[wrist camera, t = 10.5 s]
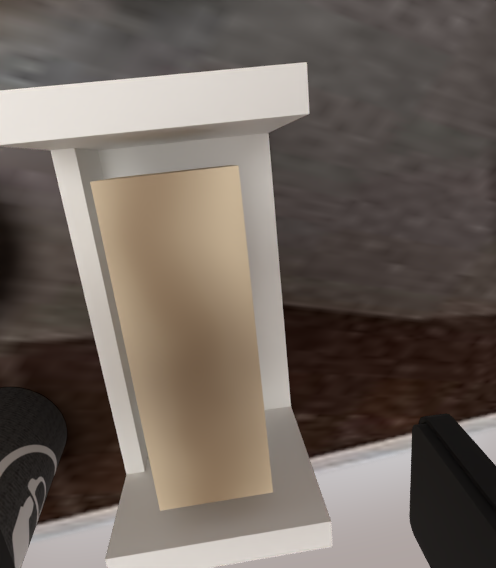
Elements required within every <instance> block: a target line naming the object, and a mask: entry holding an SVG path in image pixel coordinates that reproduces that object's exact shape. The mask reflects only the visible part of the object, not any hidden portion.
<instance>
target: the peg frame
mask: <svg viewBox="0 0 496 568" xmlns="http://www.w3.org/2000/svg"><path fill="white" fill-rule="evenodd" d="M308 114H309V96H308V77H307V62H304V63H293V64H282V65H271V66H261V67H250V68H239V69H228V70H217V71H207V72H196V73H185V74H174V75H163V76H153V77H142V78H131V79H120V80H109V81H99V82H88V83H77V84H66V85H55V86H45V87H34V88H23V89H12V90H1V91H0V147H12V148H25V149H38V150H50V151H51V155H52V159H53V163H54V168H55V172H56V176H57V180H58V185H59V189H60V193H61V197H62V202H63V206H64V210H65V215H66V219H67V223H68V227H69V232H70V236H71V240H72V244H73V249H74V253H75V257H76V261H77V266H78V270H79V274H80V278H81V283H82V287H83V291H84V295H85V300H86V304H87V308H88V312H89V317H90V321H91V325H92V329H93V334H94V338H95V342H96V346H97V351H98V355H99V359H100V364H101V368H102V372H103V376H104V381H105V385H106V389H107V393H108V398H109V402H110V406H111V410H112V415H113V419H114V423H115V427H116V432H117V436H118V440H119V444H120V449H121V453H122V457H123V461H124V466H125V470H126V474H127V475H126V479H125V483H124V487H123V490H122V494H121V498H120V502H119V506H118V510H117V514H116V518H115V522H114V526H113V530H112V534H111V538H110V542H109V546H108V550H107V554H106V557H105V561H106V565H107V568H212V567H217V566H223V565H230V564H235V563H241V562H247V561H253V560H258V559H264V558H270V557H276V556H281V555H287V554H293V553H299V552H305V551H311V550H316V549H322V548H328V547H332V529H331V520H330V517H329V514H328V511H327V508H326V505H325V503H324V500H323V497H322V494H321V491H320V488H319V485H318V482H317V479H316V477H315V474H314V471H313V468H312V465H311V462H310V459H309V457H308V454H307V451H306V448H305V445H304V442H303V439H302V436H301V434H300V431H299V428H298V425H297V422H296V419H295V416H294V414H293V411H292V408H291V401H290V389H289V377H288V365H287V352H286V340H285V328H284V316H283V304H282V291H281V279H280V267H279V255H278V243H277V230H276V218H275V206H274V194H273V182H272V169H271V157H270V145H269V132H271V131H274V130H276V129H278V128H280V127H282V126H284V125H286V124H289V123H291V122H293V121H295V120H297V119H299V118H301V117H303V116H306V115H308ZM226 165H238V166H239V175H240V185H241V194H242V204H243V213H244V222H245V232H246V241H247V251H248V260H249V270H250V279H251V288H252V298H253V307H254V317H255V326H256V336H257V345H258V354H259V364H260V373H261V383H262V392H263V402H264V411H265V420H266V430H267V439H268V449H269V458H270V468H271V477H272V486H273V492H272V493H266V494H260V495H254V496H248V497H242V498H235V499H229V500H223V501H217V502H211V503H205V504H199V505H192V506H186V507H180V508H174V509H168V510H162V511H160V508H159V503H158V499H157V494H156V489H155V485H154V480H153V475H152V471H151V466H150V461H149V457H148V452H147V447H146V442H145V438H144V433H143V428H142V424H141V419H140V414H139V410H138V405H137V400H136V395H135V391H134V386H133V381H132V377H131V372H130V367H129V363H128V358H127V353H126V349H125V344H124V339H123V334H122V330H121V325H120V320H119V316H118V311H117V306H116V302H115V297H114V292H113V288H112V283H111V278H110V273H109V269H108V264H107V259H106V255H105V250H104V245H103V241H102V236H101V231H100V226H99V222H98V217H97V212H96V208H95V203H94V198H93V194H92V189H91V184H90V182H92V181H98V180H104V179H110V178H116V177H125V176H134V175H143V174H153V173H162V172H171V171H180V170H189V169H198V168H207V167H217V166H226Z"/></svg>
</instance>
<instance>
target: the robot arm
mask: <svg viewBox="0 0 496 568" xmlns="http://www.w3.org/2000/svg"><path fill="white" fill-rule="evenodd" d="M410 524H411V528H412V531H413V533H414V536H415V538H416V540H417V542H418V544H419V546H420V548H421V550H422V551H423V554H424V556H425V558H426V559H427V561H428V563H429V565H430V567H431V568H496V466H495V465H494V463H493V462H492V461H491V460H490V459H489V458H488V457H487V455H486V454H485V453H484V452H483V451H482V450H481V449H480V448H479V446H478V445H477V444H476V443H475V442H474V441H473V440H472V439H471V437H470V436H469V435H468V434H467V433H466V432H465V431H464V430H463V428H462V427H461V426H460V425H459V424H458V423H457V422H456V421H455V419H454V418H453V417H452V416H450V415H449V414H440V415H433V416H425V417H421V418H420V420H419V424H418V425H414V426H413V429H412V455H411V487H410ZM0 568H15V566H14V563H13V560H12V558H11V555H10V553H9V550H8V547H7V545H6V542H5V540H4V537H3V534H2V532H1V529H0Z"/></svg>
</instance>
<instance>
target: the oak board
mask: <svg viewBox="0 0 496 568" xmlns="http://www.w3.org/2000/svg"><path fill="white" fill-rule="evenodd" d="M90 184H91V189H92V194H93V198H94V203H95V208H96V212H97V217H98V222H99V226H100V231H101V236H102V241H103V245H104V250H105V255H106V259H107V264H108V269H109V273H110V278H111V283H112V288H113V292H114V297H115V302H116V306H117V311H118V316H119V320H120V325H121V330H122V334H123V339H124V344H125V349H126V353H127V358H128V363H129V367H130V372H131V377H132V381H133V386H134V391H135V395H136V400H137V405H138V410H139V414H140V419H141V424H142V428H143V433H144V438H145V442H146V447H147V452H148V457H149V461H150V466H151V471H152V475H153V480H154V485H155V489H156V494H157V499H158V503H159V508H160V511H162V510H168V509H174V508H180V507H186V506H192V505H199V504H205V503H211V502H217V501H223V500H229V499H235V498H242V497H248V496H254V495H260V494H266V493H272V492H273V486H272V477H271V468H270V458H269V449H268V439H267V430H266V420H265V411H264V402H263V392H262V383H261V373H260V364H259V354H258V345H257V336H256V326H255V317H254V307H253V298H252V288H251V279H250V270H249V260H248V251H247V241H246V232H245V222H244V213H243V204H242V194H241V185H240V175H239V166H238V165H226V166H217V167H207V168H198V169H189V170H180V171H171V172H162V173H153V174H143V175H134V176H125V177H116V178H110V179H104V180H98V181H92V182H90Z"/></svg>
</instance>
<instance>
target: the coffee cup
mask: <svg viewBox="0 0 496 568" xmlns="http://www.w3.org/2000/svg"><path fill="white" fill-rule="evenodd" d="M66 440H67V427H66V423H65V420H64V418H63V416H62V414H61V412H60V411H59V410H58V408H57V407H56V406H55V405H54V404H53V403H52V402H51V401H49V400H48V399H47V398H45V397H44V396H42V395H40V394H38V393H36V392H33V391H30V390H27V389H22V388H15V387H5V388H0V529H1V532H2V534H3V537H4V540H5V542H6V545H7V547H8V550H9V553H10V555H11V558H12V560H13V563H14V566H15V568H21V566H22V563H23V561H24V558H25V555H26V552H27V549H28V547H29V544H30V541H31V538H32V536H33V533H34V530H35V527H36V524H37V522H38V519H39V516H40V513H41V511H42V508H43V505H44V502H45V500H46V497H47V494H48V491H49V488H50V486H51V483H52V480H53V477H54V475H55V472H56V469H57V466H58V464H59V461H60V458H61V455H62V452H63V450H64V447H65V444H66Z"/></svg>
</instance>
